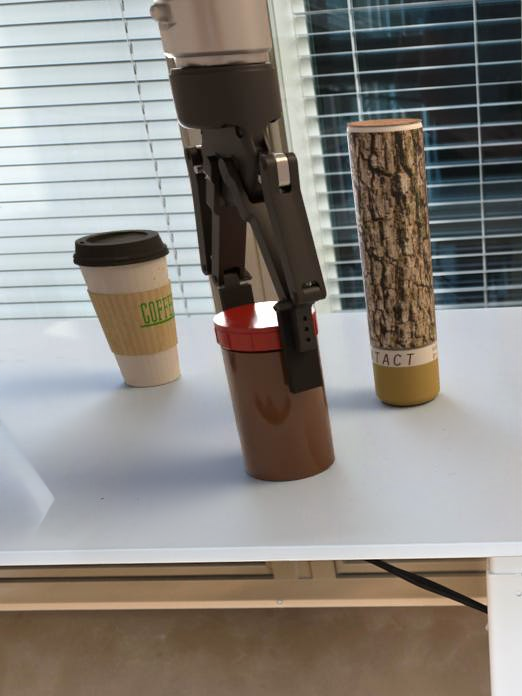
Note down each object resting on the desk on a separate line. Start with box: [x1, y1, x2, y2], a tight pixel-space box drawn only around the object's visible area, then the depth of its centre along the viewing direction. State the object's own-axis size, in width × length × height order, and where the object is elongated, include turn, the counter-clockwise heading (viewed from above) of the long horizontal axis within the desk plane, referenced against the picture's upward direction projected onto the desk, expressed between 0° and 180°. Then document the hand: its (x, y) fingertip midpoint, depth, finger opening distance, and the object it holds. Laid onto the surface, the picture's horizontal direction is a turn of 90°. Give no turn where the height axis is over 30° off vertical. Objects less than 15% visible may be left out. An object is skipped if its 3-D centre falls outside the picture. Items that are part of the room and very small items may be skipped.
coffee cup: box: [72, 229, 181, 388], centre depth 98 cm, size 10×10×15 cm
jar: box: [219, 335, 336, 482], centre depth 76 cm, size 8×8×12 cm
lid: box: [212, 300, 319, 351], centre depth 73 cm, size 8×8×2 cm
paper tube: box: [346, 118, 441, 407], centre depth 86 cm, size 7×7×25 cm
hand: (276, 375), depth 75 cm, fingers open, 9 cm apart
